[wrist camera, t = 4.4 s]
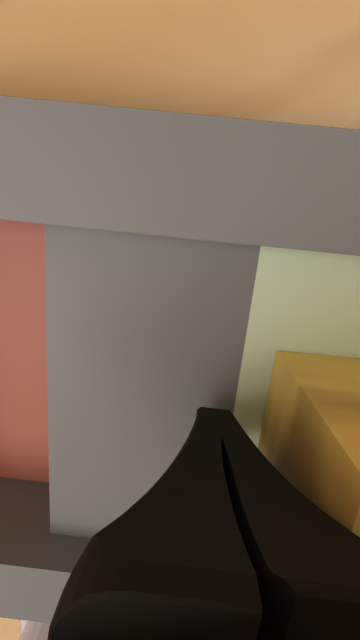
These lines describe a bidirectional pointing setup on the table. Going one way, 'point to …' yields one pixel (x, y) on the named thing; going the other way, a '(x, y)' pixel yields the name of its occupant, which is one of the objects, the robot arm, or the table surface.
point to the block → (316, 430)
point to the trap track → (150, 303)
